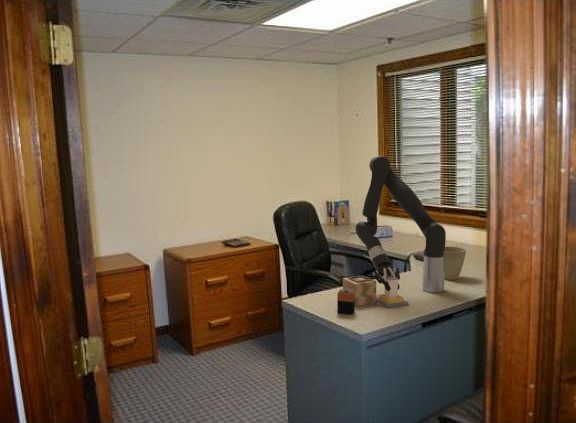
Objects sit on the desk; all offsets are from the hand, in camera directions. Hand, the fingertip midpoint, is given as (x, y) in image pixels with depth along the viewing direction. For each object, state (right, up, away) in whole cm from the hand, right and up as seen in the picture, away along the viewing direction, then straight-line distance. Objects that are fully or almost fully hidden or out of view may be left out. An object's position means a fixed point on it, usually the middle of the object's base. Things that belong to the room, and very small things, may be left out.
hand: (393, 289), depth 218 cm
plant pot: (+40, -1, +44) cm, 59 cm away
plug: (-1, -4, +2) cm, 4 cm away
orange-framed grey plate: (-1, -6, +3) cm, 7 cm away
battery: (-22, -8, -10) cm, 26 cm away
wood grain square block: (-15, -6, +6) cm, 17 cm away
